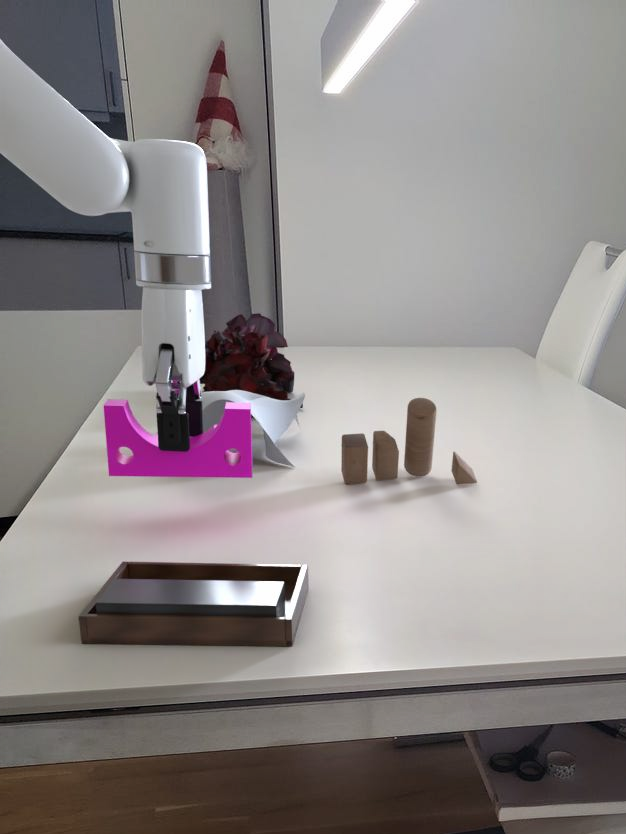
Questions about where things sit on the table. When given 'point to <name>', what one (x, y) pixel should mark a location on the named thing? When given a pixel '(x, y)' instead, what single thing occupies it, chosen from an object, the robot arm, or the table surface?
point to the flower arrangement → (248, 359)
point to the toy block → (198, 461)
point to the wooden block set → (387, 452)
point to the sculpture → (255, 415)
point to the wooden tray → (197, 604)
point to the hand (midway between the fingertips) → (181, 441)
